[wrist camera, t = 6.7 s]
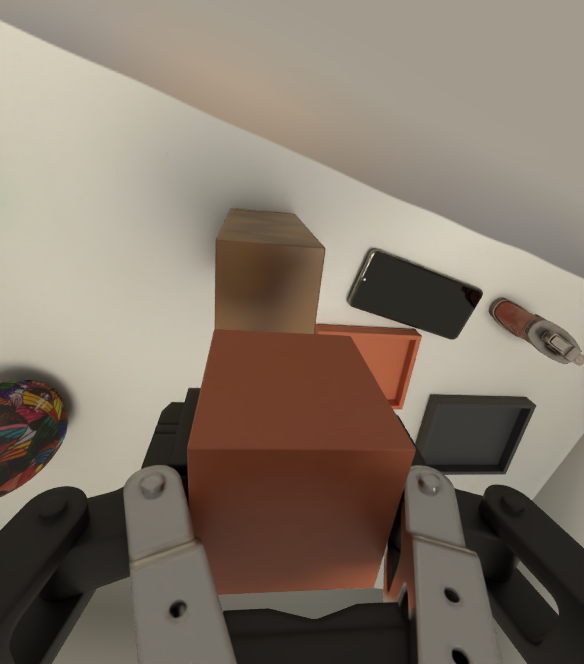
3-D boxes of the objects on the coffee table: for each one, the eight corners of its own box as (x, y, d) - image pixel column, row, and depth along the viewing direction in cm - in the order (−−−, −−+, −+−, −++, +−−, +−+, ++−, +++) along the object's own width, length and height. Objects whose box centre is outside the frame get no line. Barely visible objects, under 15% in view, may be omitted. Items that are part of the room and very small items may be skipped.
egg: (-30, 381, 44) (-155, 477, 31) (51, 353, 44) (-40, 438, 30) (24, 444, 49) (-64, 552, 35) (98, 419, 48) (38, 519, 35)
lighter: (540, 322, 49) (606, 358, 40) (521, 342, 50) (581, 381, 41) (502, 292, 46) (562, 322, 37) (483, 312, 47) (538, 347, 38)
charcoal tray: (526, 397, 54) (536, 405, 52) (497, 464, 59) (505, 474, 58) (430, 394, 52) (437, 403, 50) (409, 464, 57) (414, 474, 56)
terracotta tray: (415, 329, 47) (422, 336, 45) (396, 400, 52) (402, 409, 50) (315, 324, 46) (318, 330, 44) (305, 398, 50) (307, 407, 48)
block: (350, 334, 14) (417, 449, 8) (331, 440, 16) (374, 588, 10) (213, 328, 13) (187, 447, 7) (212, 439, 15) (189, 597, 9)
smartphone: (455, 341, 48) (347, 305, 44) (451, 338, 49) (344, 302, 45) (486, 291, 45) (373, 247, 41) (481, 288, 46) (370, 245, 42)
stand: (295, 214, 40) (325, 248, 24) (289, 276, 43) (312, 344, 26) (230, 208, 39) (215, 239, 23) (228, 272, 42) (214, 340, 25)
